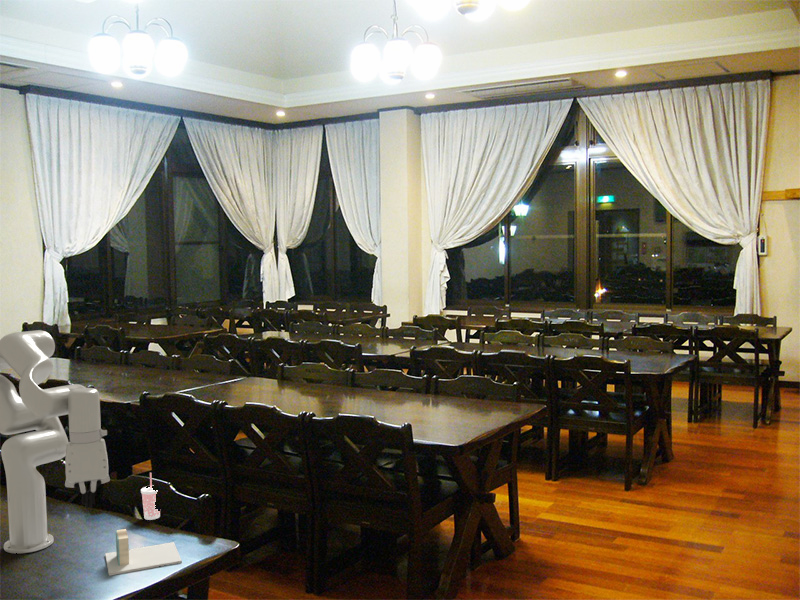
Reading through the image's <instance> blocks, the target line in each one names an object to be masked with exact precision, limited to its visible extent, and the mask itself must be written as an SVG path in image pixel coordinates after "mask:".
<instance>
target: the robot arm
mask: <svg viewBox="0 0 800 600" xmlns="http://www.w3.org/2000/svg"><path fill="white" fill-rule="evenodd" d="M55 349H56V343H55V340H54V337H52V335H51V334H50V333H49V332H47V331H45V330H42V329H38V330H37V329H36V330H28V331H27V330H26V331H17V332H11V333H8V334H5V335H4V336H3V337H2V338H0V370H1V371H2V370H7V369H8V370H10V369H12V370H13V371H14V372H15V373H16V374H17V375H18V377H20V380H19V383H18V385H19V386H18V389H19V391H18V392H19V393H18V392H17V388H16V387H15V385H14V383H13V382H12V381H10V379H8V378H7V377H6V376H4V375H3V374H1V373H0V434H1V435H4V436H5V435H6V436H8V435H14V436H11V437H10V438H8V439H6V440H5V441H4V443H3V444H2V446H1V448H0V449H1V450H0V454H1V460H2V463H3V467H4V471H5V478H6V491H7V511H8V530H9V531H8V534H9V539H8V540H7V541H5V542H4V544H3V550H4V551H5V552H7V553H10V554H16V553H17V554H27V553H33V552H37V551H41V550H43V549H46V548H48V547H50V546H51V545H52V544H53V543H54V541H55V539H54V536H53V535H52V534H50V533H48V522H47V521H48V518H47V496H46V495H47V493H46V482H45V478H44V476H43V475H42V474H41V473H40V472H39V471H38V470H37V467H38V466H40V465H44V464H49V463H52V462H55V461H58V460H59V461H60V460H61V459H65V462H64V464H65V466H64V467H65V471H64V472H65V473H64V474H65V483H64V486H65V488H71V489H72V488H74V489H76V490H77V491H78V492H80V493H81V502H82V506H84V505H85V509H89V508H90V509H92V508H93V504H96V496H95V495H96V494H95V493H96V491H97V489H98V488H99V487H100V486H101V485H102V484H105V483H106V484H107V483H108V482H110V480H111V478H110V475H109V459H108V452H107V445H106V441H105V439H104V438H103V437H105V436H107V435H108V430H107V429H102V428H101V426H102V425H101V421H102V420H101V401H100V400H101V399H100V393H99V391H98V389H96V388H93V387H87V386H84V385H82V384H79V383H74V384H67V385H61V386H56V387H50V388H44V389H43V388H41V387H40V386H38V385H40V384H41V383H43V382H45V380H47V378H48V377H49V376H50V375H51V374H52V371H53V367H54V366H53V362H52V360H51V357H52V356H53V355H54V353H55ZM66 415H68V430H69V432H68V433H69V437H68V436H67V434H66V430H65V428H64V426H63V424H62V422H61V420H60V418H59V417H61V416H66ZM34 430H35V431H34ZM25 432H26V433H25ZM15 434H16V435H15ZM68 438H69V439H68ZM85 482H90V486H89V488H88V489H87V488H86V486H85Z"/></svg>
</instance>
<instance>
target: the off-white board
mask: <svg viewBox="0 0 800 600" xmlns="http://www.w3.org/2000/svg"><path fill="white" fill-rule="evenodd" d="M104 554H105V560H106V568H107V573H108V576H115V575H122V574H125V573H131V572H132V573H133V572H139V571H143V570H148V569H155V568H160V567H159V566H161V567H165V566H164V565H167V566H170V565H169V564H172V565H177V563H178V564H182V558H181V556H180V553H179V551H178V549H177V546H176V544H175V542H174V541H171V542H166V543H160V544H154V545H149V546H148V545H147V546H142V547H141V546H140V547H135V548H130V549H129V564H126V565H120V566H119V565H118V560H117V553H116V551H111V552H105V553H104Z"/></svg>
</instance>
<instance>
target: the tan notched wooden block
mask: <svg viewBox="0 0 800 600" xmlns="http://www.w3.org/2000/svg"><path fill="white" fill-rule="evenodd" d="M129 545H130V544H129V536H128V532H127V529H126V528H124V529H117V530H116V529H115V552H116V553H117V560H118V565H119V566H120V565H126V564H129Z"/></svg>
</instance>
